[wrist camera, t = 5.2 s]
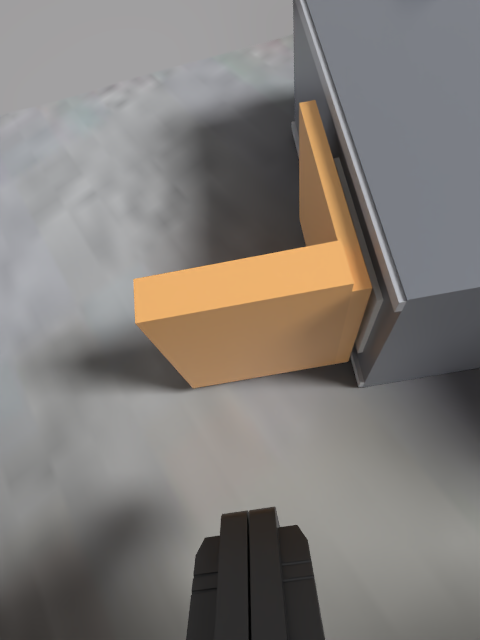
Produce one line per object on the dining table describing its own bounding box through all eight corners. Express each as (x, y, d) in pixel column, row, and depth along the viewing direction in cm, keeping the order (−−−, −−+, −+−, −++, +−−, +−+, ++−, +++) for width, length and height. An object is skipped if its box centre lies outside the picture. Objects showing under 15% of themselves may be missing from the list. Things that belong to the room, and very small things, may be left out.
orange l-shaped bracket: (348, 361, 19) (375, 279, 12) (193, 388, 19) (135, 323, 13) (311, 216, 22) (315, 87, 16) (178, 241, 23) (127, 127, 16)
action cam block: (567, 353, 19) (804, 215, 10) (358, 388, 20) (406, 287, 11) (438, 87, 26) (511, -132, 17) (288, 118, 27) (282, -78, 18)
